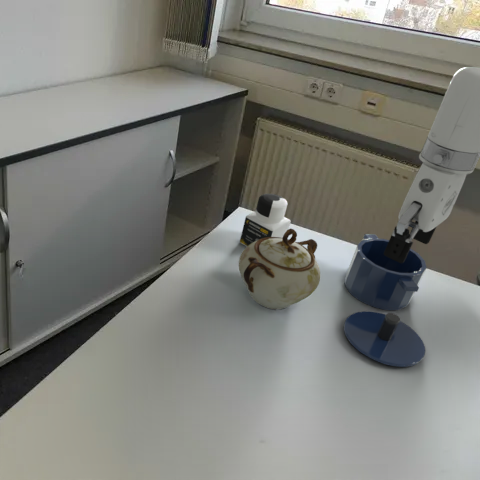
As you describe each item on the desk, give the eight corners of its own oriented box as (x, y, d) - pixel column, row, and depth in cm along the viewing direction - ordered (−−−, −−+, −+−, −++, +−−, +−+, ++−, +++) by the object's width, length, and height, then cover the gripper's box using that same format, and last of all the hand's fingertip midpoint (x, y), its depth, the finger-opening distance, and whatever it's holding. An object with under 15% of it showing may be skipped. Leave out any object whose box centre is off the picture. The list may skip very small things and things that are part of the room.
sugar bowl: (275, 261, 116) (293, 200, 107) (333, 301, 106) (358, 237, 97) (208, 290, 105) (222, 224, 97) (265, 336, 95) (286, 267, 87)
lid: (399, 317, 103) (410, 293, 100) (438, 370, 92) (452, 346, 89) (331, 314, 102) (340, 291, 99) (361, 368, 91) (373, 343, 88)
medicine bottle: (238, 242, 121) (250, 195, 114) (257, 233, 125) (269, 187, 118) (265, 257, 117) (278, 209, 110) (283, 247, 121) (297, 200, 114)
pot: (385, 265, 118) (399, 232, 113) (428, 320, 103) (447, 285, 98) (330, 263, 117) (342, 229, 112) (365, 318, 102) (381, 283, 97)
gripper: (453, 178, 73) (406, 278, 82) (495, 151, 83) (448, 243, 93) (400, 157, 78) (360, 255, 87) (446, 134, 88) (406, 224, 97)
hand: (406, 249), depth 90 cm, fingers open, 9 cm apart
